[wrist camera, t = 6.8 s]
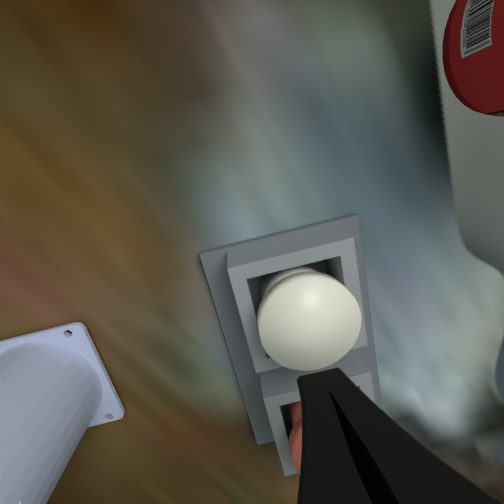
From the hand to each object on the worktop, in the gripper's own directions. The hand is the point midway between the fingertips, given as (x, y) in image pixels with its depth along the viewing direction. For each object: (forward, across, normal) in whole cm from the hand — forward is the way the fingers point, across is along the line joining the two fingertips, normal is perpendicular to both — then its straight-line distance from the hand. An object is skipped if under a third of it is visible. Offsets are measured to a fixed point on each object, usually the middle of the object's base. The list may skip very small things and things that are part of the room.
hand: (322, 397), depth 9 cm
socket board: (+10, -1, +5) cm, 12 cm away
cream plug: (+9, -1, +1) cm, 9 cm away
